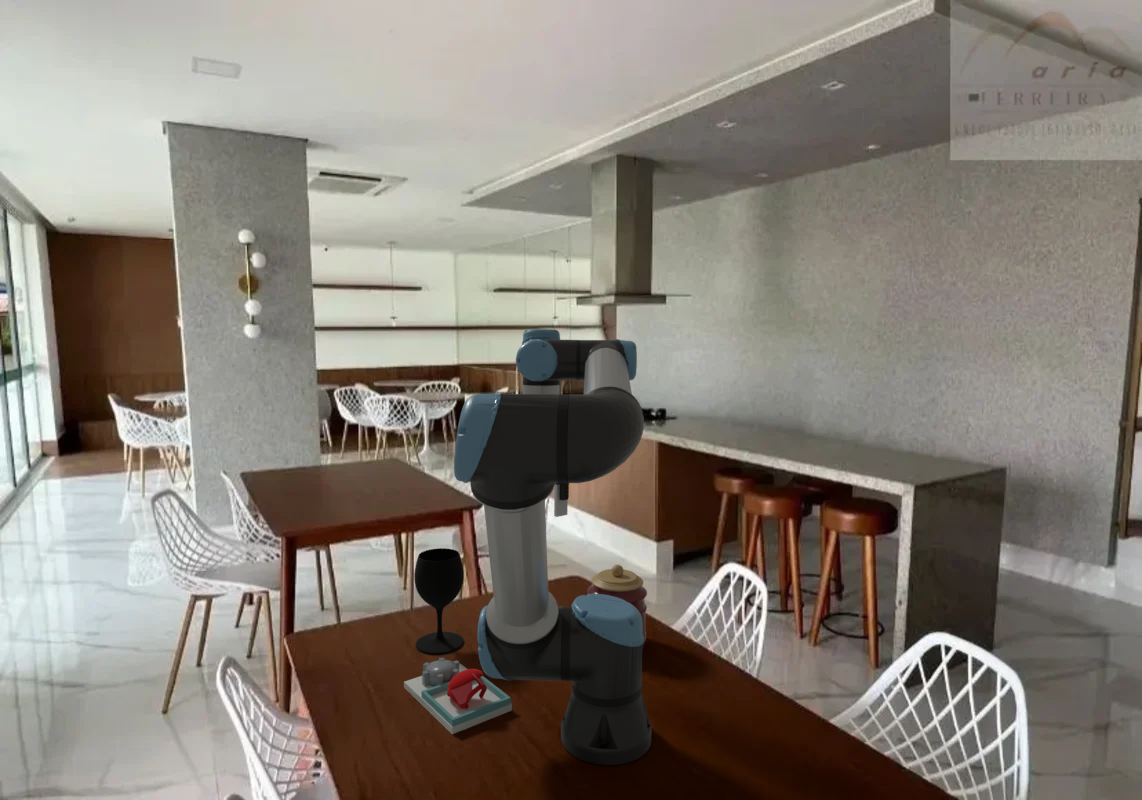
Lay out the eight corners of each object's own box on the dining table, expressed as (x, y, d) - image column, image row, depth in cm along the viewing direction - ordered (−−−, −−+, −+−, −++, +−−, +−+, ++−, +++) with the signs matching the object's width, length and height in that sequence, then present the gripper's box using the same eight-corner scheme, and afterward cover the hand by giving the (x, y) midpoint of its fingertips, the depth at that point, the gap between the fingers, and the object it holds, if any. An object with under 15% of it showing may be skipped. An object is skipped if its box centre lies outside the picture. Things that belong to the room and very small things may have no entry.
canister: (658, 645, 147) (660, 566, 146) (615, 663, 139) (616, 580, 137) (616, 625, 157) (618, 551, 155) (574, 641, 149) (575, 563, 147)
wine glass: (406, 642, 147) (405, 553, 145) (447, 629, 154) (446, 544, 152) (431, 659, 139) (430, 566, 138) (473, 644, 146) (472, 555, 145)
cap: (498, 681, 122) (478, 656, 125) (482, 685, 117) (461, 659, 120) (472, 714, 123) (452, 688, 126) (453, 719, 118) (434, 693, 120)
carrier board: (511, 710, 121) (511, 690, 121) (452, 734, 114) (452, 713, 113) (459, 668, 136) (459, 651, 135) (404, 687, 128) (403, 669, 128)
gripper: (595, 410, 129) (593, 518, 131) (521, 399, 148) (521, 494, 150) (564, 412, 124) (563, 525, 126) (492, 401, 144) (492, 498, 146)
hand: (540, 508), depth 138 cm, fingers open, 13 cm apart
